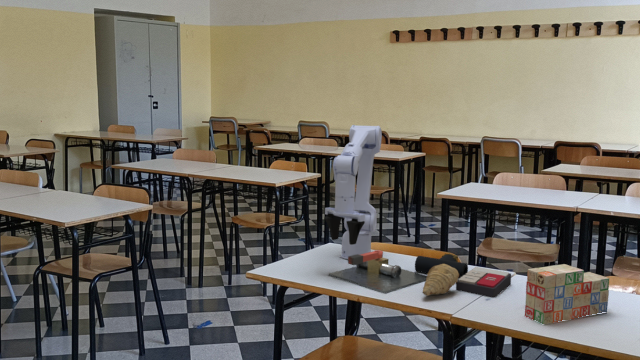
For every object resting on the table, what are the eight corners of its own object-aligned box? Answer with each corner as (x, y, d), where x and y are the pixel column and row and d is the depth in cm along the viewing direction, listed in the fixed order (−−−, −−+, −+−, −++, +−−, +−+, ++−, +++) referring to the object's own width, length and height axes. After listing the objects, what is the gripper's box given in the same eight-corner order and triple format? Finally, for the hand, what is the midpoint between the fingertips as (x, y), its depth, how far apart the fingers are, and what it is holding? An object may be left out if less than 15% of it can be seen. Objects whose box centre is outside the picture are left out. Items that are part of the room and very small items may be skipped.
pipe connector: (429, 249, 193) (475, 256, 185) (428, 265, 194) (474, 272, 186) (415, 257, 183) (462, 265, 175) (414, 274, 184) (461, 282, 176)
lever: (377, 256, 183) (378, 249, 183) (384, 257, 181) (384, 250, 181) (347, 263, 174) (347, 256, 174) (354, 265, 172) (354, 258, 172)
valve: (328, 275, 179) (328, 259, 178) (375, 263, 193) (375, 248, 193) (384, 293, 163) (385, 276, 162) (431, 279, 177) (432, 262, 177)
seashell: (442, 305, 155) (443, 275, 154) (413, 299, 159) (414, 269, 158) (460, 291, 166) (461, 263, 165) (432, 286, 171) (433, 258, 170)
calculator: (455, 278, 167) (474, 264, 179) (455, 293, 168) (474, 278, 180) (494, 286, 161) (511, 270, 173) (494, 301, 162) (511, 285, 174)
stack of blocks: (587, 306, 157) (591, 260, 155) (607, 314, 151) (611, 266, 149) (523, 316, 148) (527, 268, 146) (542, 325, 142) (546, 275, 141)
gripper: (318, 194, 178) (317, 239, 180) (353, 201, 168) (352, 248, 169) (334, 192, 183) (333, 235, 185) (370, 198, 172) (369, 244, 174)
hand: (343, 241), depth 177 cm, fingers open, 7 cm apart
